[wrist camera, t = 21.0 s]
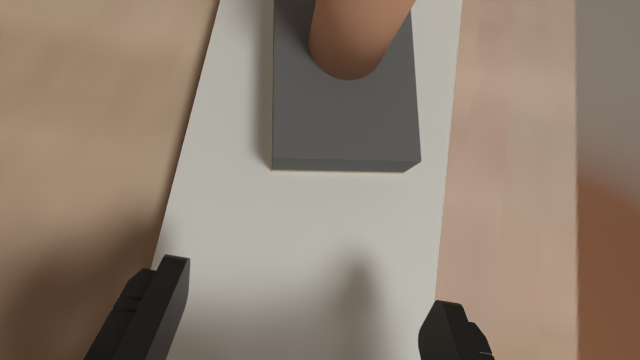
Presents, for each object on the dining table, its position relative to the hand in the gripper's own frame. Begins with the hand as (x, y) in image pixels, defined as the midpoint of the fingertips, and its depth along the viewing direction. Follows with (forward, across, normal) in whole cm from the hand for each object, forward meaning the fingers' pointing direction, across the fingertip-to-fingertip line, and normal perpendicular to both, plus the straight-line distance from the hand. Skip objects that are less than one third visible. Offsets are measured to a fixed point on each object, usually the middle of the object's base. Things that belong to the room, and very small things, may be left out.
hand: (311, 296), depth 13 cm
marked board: (+10, 0, -2) cm, 10 cm away
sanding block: (+10, 0, -4) cm, 11 cm away
